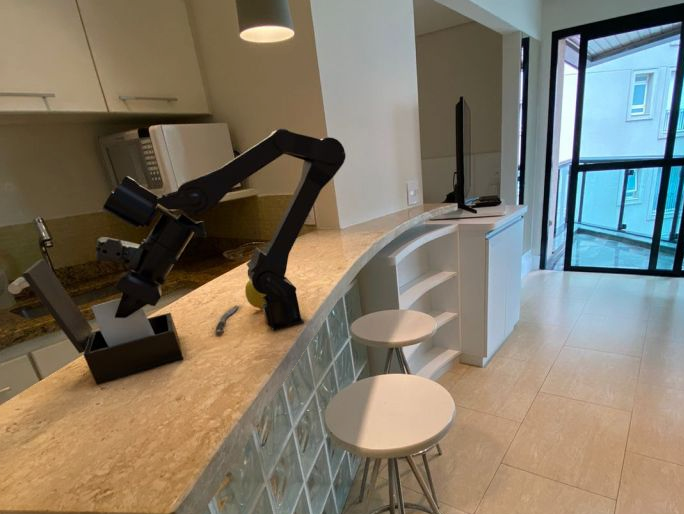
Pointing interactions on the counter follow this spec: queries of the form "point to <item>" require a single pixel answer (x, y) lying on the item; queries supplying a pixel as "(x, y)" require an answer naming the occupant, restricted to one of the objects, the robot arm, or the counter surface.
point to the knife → (222, 320)
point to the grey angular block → (121, 324)
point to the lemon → (254, 296)
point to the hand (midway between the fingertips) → (118, 318)
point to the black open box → (134, 352)
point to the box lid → (55, 302)
